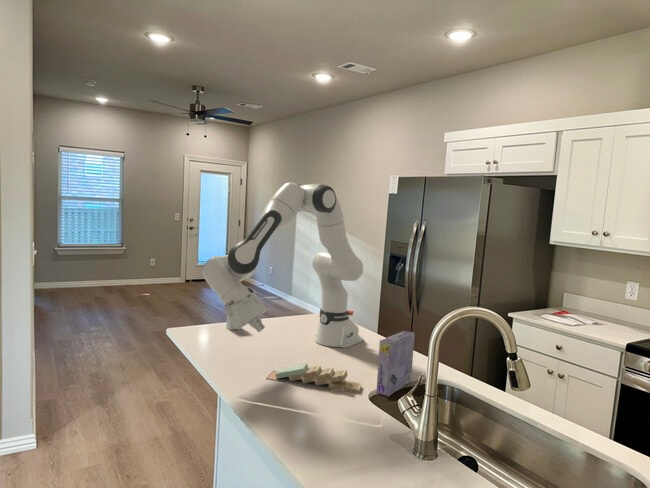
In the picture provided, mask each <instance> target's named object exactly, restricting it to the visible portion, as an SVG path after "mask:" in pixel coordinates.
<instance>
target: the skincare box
mask: <svg viewBox="0 0 650 488" xmlns="http://www.w3.org/2000/svg"><path fill="white" fill-rule="evenodd" d="M226 329H228V330H229V331H231V330H232V331H233V330H238V329H237V328H236V327H235V326H234V325H233V324H232V322H231V321H230V319H229V318H228V316H227V315H226ZM241 329H242V328H240V329H239V330H241Z"/></svg>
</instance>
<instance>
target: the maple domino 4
mask: <svg viewBox="0 0 650 488" xmlns="http://www.w3.org/2000/svg"><path fill="white" fill-rule="evenodd" d="M328 388H331V389H332V390H337V391H342V392H347V393H349V392H350V393H356V394H359V393H360V391H361V389H362V383H360V382H354V381H350V380H346V379H345V380H342V381H337V382H332V383H329V386H328ZM331 389H330V390H331Z"/></svg>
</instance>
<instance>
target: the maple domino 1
mask: <svg viewBox="0 0 650 488" xmlns="http://www.w3.org/2000/svg"><path fill="white" fill-rule="evenodd" d="M321 370H323V369H322V366H321V365H316V366H312V367H308V369H307V370H306V372H305V373H303V374H298V375H293V376H289V380H290V381H294V380H299V379H304V378H308V377H313V376H318V375H319V373H320V372H321Z"/></svg>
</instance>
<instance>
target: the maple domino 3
mask: <svg viewBox="0 0 650 488" xmlns="http://www.w3.org/2000/svg"><path fill="white" fill-rule="evenodd" d="M347 377H348V371H347V369H342V370H337V371H334V374H333V375H332V377H331V378H327V379H323V380H318V381H315V385H316V386H318V385H323V384H327V383H332V382H337V381H342V380H346V378H347Z"/></svg>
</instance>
